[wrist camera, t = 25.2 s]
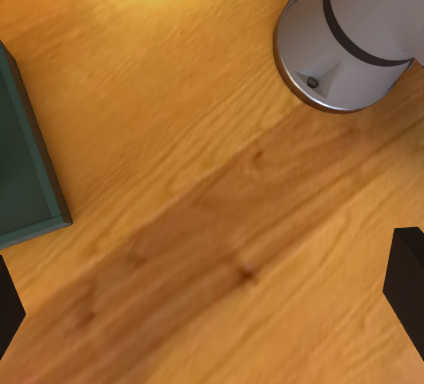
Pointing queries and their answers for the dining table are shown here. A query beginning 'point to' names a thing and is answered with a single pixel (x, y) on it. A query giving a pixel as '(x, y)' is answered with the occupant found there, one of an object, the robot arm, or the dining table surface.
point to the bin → (24, 166)
